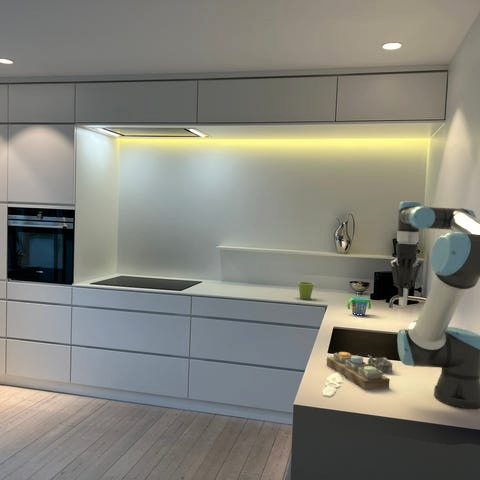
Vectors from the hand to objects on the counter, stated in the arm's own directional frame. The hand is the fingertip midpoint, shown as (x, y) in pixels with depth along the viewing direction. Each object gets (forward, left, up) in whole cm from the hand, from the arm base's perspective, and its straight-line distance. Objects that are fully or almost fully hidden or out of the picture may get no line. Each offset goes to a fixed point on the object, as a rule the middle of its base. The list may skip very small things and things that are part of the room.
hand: (402, 305), depth 174 cm
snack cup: (+97, -46, -27) cm, 111 cm away
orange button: (+10, +17, -23) cm, 31 cm away
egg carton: (+8, +2, -27) cm, 28 cm away
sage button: (-6, +17, -23) cm, 29 cm away
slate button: (+2, +17, -22) cm, 28 cm away
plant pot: (+147, -35, -27) cm, 153 cm away
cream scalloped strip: (-3, +29, -27) cm, 40 cm away
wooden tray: (+2, +17, -26) cm, 31 cm away
